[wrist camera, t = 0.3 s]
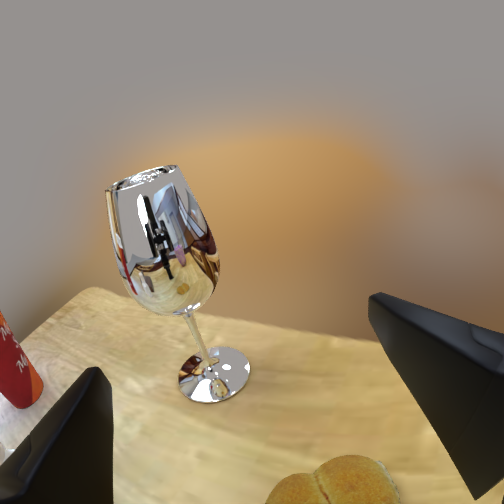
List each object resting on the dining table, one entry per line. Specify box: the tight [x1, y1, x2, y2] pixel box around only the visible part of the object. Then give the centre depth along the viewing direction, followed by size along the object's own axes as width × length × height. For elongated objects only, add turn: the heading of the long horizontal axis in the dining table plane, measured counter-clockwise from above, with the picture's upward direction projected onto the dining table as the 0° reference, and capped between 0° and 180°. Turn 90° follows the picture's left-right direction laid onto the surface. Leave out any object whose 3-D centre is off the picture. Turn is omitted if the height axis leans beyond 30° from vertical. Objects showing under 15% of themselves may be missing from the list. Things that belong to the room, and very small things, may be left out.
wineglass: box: [105, 165, 250, 403], centre depth 25 cm, size 8×8×20 cm
